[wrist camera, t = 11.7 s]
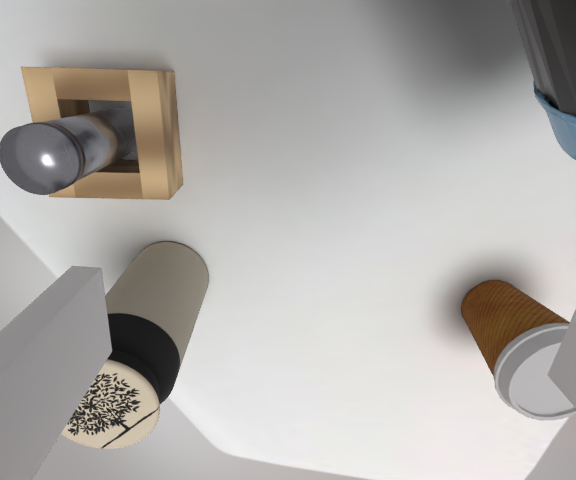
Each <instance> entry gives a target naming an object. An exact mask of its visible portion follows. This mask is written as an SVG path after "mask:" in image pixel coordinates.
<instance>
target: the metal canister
mask: <svg viewBox="0 0 576 480" xmlns="http://www.w3.org/2000/svg"><path fill="white" fill-rule="evenodd" d="M136 150H137V144H136V136H135V128H134V119H133V111H132V110H131V109H128V108H125V107H117V108H112V109H106V110H101V111H96V112H91V113H86V114H81V115H76V116H71V117H66V118H60V119H55V120H50V121H42V122H35V123H30V124H26V125H24V126H20V127H16V128H13V129H11V130H10V131H8V132H7V133H6V134H5V135H4V137H3V138H2V140H1V142H0V162H1V165H2V168H3V170H4V171H5V173H6V175H7V176H8V177H9V178H10V179H11V180H12V182H14V183H15V184H16V185H17V186H19V187H20V188H22V189H23V190H25V191H28V192H30V193H33V194H39V195H48V194H52V193H55V192H57V191H59V190H62V189H65V188H67V187H69V186H71V185H73V184H74V183H76V182H77V181H78V180H80V179H82V178H84V177H86V176H88V175H90V174H92V173H94V172H96V171H98V170H100V169H102V168H103V167H105V166H107V165H109V164H111V163H113V162H115V161H117V160H119V159H121V158H123V157H125V156H127V155H128V154H130V153H132V152H134V151H136Z"/></svg>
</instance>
